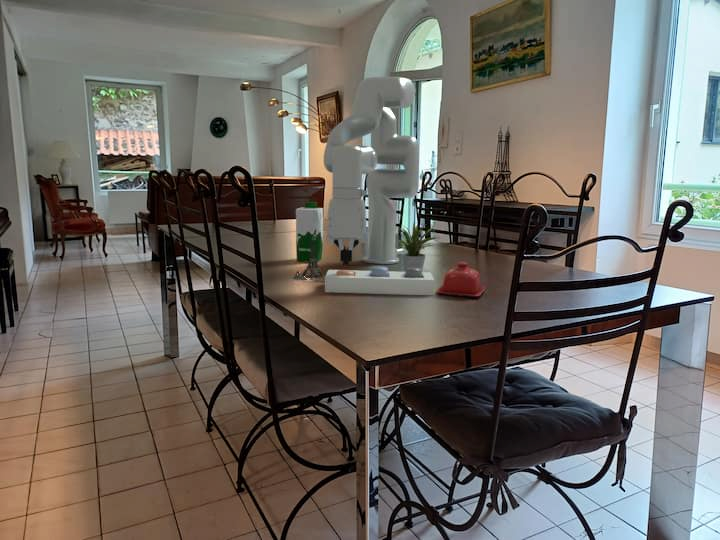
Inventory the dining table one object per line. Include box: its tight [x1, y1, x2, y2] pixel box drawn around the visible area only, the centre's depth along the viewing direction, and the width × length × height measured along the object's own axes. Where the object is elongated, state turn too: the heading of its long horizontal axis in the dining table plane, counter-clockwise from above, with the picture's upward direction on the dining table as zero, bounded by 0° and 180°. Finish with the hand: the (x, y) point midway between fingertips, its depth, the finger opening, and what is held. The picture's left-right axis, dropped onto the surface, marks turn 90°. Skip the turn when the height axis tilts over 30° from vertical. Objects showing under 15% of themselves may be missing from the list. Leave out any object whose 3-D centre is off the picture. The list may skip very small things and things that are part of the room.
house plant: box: [394, 222, 441, 272], centre depth 156 cm, size 14×14×16 cm
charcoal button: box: [405, 267, 423, 278], centre depth 137 cm, size 4×4×3 cm
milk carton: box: [295, 201, 324, 264], centre depth 178 cm, size 9×9×20 cm
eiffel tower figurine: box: [292, 237, 326, 282], centre depth 153 cm, size 15×10×13 cm
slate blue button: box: [370, 265, 389, 277], centre depth 138 cm, size 4×4×3 cm
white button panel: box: [324, 269, 436, 296], centre depth 138 cm, size 28×10×4 cm, turn 88°
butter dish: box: [436, 261, 486, 298], centre depth 136 cm, size 12×12×8 cm
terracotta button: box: [337, 269, 354, 276], centre depth 138 cm, size 4×4×3 cm
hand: (346, 264), depth 138 cm, fingers closed
